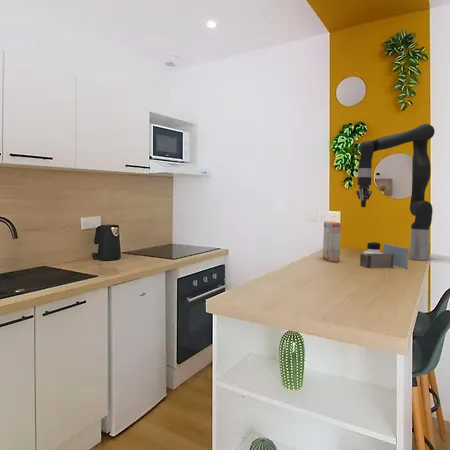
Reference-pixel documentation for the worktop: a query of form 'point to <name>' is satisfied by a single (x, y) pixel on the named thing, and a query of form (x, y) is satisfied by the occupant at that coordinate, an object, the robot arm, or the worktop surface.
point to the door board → (397, 255)
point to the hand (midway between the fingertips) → (363, 207)
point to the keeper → (377, 260)
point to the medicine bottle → (372, 248)
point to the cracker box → (331, 241)
